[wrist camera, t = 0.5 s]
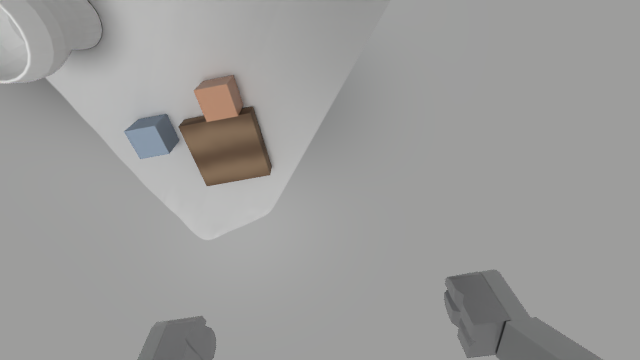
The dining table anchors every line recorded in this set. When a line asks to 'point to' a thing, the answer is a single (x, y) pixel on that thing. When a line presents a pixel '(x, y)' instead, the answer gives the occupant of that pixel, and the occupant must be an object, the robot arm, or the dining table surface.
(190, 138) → the pedestal
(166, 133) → the blue block
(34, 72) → the cup
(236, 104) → the terracotta block
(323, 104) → the dining table surface
